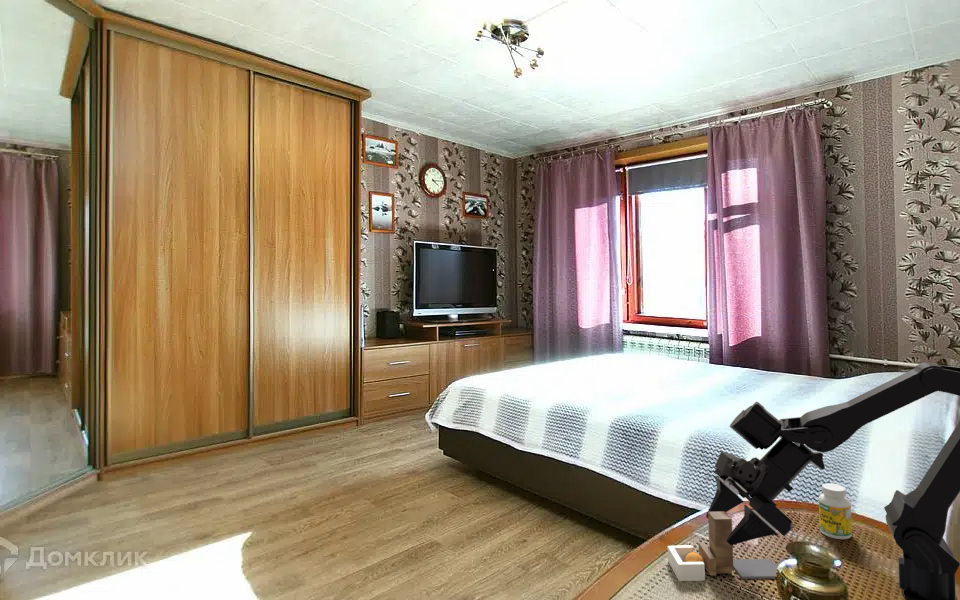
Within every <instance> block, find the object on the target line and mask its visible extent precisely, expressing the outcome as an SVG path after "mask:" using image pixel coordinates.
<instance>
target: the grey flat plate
mask: <svg viewBox="0 0 960 600" xmlns="http://www.w3.org/2000/svg"><path fill="white" fill-rule="evenodd" d="M777 567H778V566H777V565H776V563H774V562H773V561H772V560H771V558H736V559H735V558H733V570H735V572H736V573H737V575H739V577H740V578H741V579H742V580H744V579H745V580H749V579H753V580H755V579H757V580H761V579H776V578H775V577H776V568H777Z"/></svg>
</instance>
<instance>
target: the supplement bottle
mask: <svg viewBox="0 0 960 600" xmlns="http://www.w3.org/2000/svg"><path fill="white" fill-rule="evenodd" d="M821 491H822V493H821V494H819V496H818V513H819V514H818V517H819V518H818V519H819V530H820V532H821V533H822V534H823V535H824V536H827V537H829V538H831V539H837V540H848V539H850V538H851V537H852V533H853V532H852V531H853V529H852V526H853V525H852V507H851V506H852V503H851V501H850V499H849V498H848V497H846V496H847V489H846V487H844V486H843V485H840V484H837V483H831V482H830V483H829V482H828V483H823V484H822V485H821Z"/></svg>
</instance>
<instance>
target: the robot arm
mask: <svg viewBox="0 0 960 600" xmlns="http://www.w3.org/2000/svg"><path fill="white" fill-rule="evenodd" d="M935 392H940V393H941V392H942V393H947V394H951V395H953V396H954V395H955V396H957V397H960V366H951V365H943V364H938V363H936V362H931V361H927V362H921V363H918V364H917V365H916V366H915V367H914V368H913V369H911V370H908V371H906V372H904V373H902V374H900V375H898V376H896V377H893V378H892V379H890V380H888V381H886V382H884V383H882V384H880V385H877V386H876V387H873V388H872V389H869V390H868V391H865V392H864V393H861V394H859V395H858V396H855V397H854V398H852V399H850V400H848V401H845V402H842V403H838V404H832V405H828V406H822V407H820V408H816V409H813V410H810V411H808V412H805V413H803V415H801V416H798V417H787V418H780V419H778V418H777V417H776V416H775V415H773V414H772V413H771V412H769V411H768V410H767V409H766V408H765V407H764V405H763V404H761V403H760V402H758V401H755V402H754V403H753V404H752V405H750V406H748V407H747V408H745V409H743V410H742V411H740V413H738V415H737V416H736V417H735V418H733V420H732V422H731V423H730V424H729V428H730V429H731V430H733V431H734V432H735V433H736V434H737V435H738V436H740V437H741V438H742V439H744V440H745V441H746V442H747V443H748V444H749V445H751V447H753V448H754V449H755V450H757V449H760V450H761V451H762V450H768V449H769V448H770V449H769V450H768V451H767V452H766V453H765V454H764V455H763V456H762V457H761V458H760V459H759V458H758V457H756V456H755V457H752V458H751V459H750V460H746V459H745V458H741V457H739V456H736V455H733V454H731V453H728V452H726V451H723V450H721V451H720V453H719V456H718V457H717V460H716V463H715V464H714V467H715V468H716V469H715V470H714V471H713V472H714V473H715V474H716V475H715V476H714V479H715V483H716V491H715V495H714V497H713V500H712V501H711V503H710V505H709V508H708V510H707V512H706V515H705V517H706V518H707V519H708V512H717V511H725V512H726V513H728V512H729V511H730V510H733V509H734V508H736V507H738V506H739V505H741V504H743V503H744V502H745V501H744V500H743V499H746V500H747V501H749V503H748V505H749V506H750V507H749V506H748V505H747V504H743V505H744V507H743V508H744V509H743V511H744V512H743V513H744V514H743V517H742V519H740V521H739V522H738V523H737V525H736V526H735V527H734V529H732V532H731V534H730V535H729V537H728V538H727V540H726V541H727V542H728V543H729V544H730V545H733V546H735V545H738V544H741V543H745V542H749V541H751V540H756V539H759V538H765V537H769V536H775V537H778V536H779V533H780V535H781V536H783V537H785V538H786V537H787V535H788V534H789V533H790V532H792V530H793V521H792V520H791V519H790V518H789V517H788V516H787V515H786V514H785V513H784V512H783V511H781V510H780V508H778V507H777V504H776V502H774V500H776V498H778V496H779V495H780V494H782V492H783V491H784V490H785V491H787V492H788V493H791V491H793V489H794V487H793V486H792V485H790V484H791V483H792V482H793V481H794V480H795V479H796V478H797V477H798V476H799V475H800V474H801V473H802V471H804V470H805V469H806V468H807V466H809V465H810V463H811V465H812V466H813V467H815V468H817V469H821V470H824V469H825V468H826V466H825V462H824V459H823V457H824V453H828V452H831V451H833V450H835V449H837V448H838V447H839V446H841V445H843V444H844V443H845V442H847V441H848V440H850V439H851V437H852V436H853V435H854V434H856V432H858V430H859V429H861V428H862V427H864V426H865V425H867V424H869V423H871V422H873V421H876V420H879V419H881V418H882V417H885V416H886V415H889V414H890V413H894V412H895V411H897V410H900V409H901V408H904V407H906V406H908V405H910V404H912V403H914V402H917V401H919V400H920V399H923V398H925V397H927V396H929V395H931V394H933V393H935ZM778 439H779V440H778ZM777 440H778V441H777ZM774 443H775V444H774ZM772 445H773V446H772ZM771 446H772V447H771ZM958 495H960V420H959V421H958V423H957V425H956V427H954V429H953V431H952V432H951V434H950V436H949V437H948V439H947V440H946V442H945V443H944V445H943V446H942V448H941V449H940V451H939V452H938V454H937V456H936V457H935V459H934V460H933V462H932V463H931V465H930V466H929V469H928V470H927V471H926V473H925V474H924V476H923V477H922V479H921V481H920V482H919V483H918V485H917V487H916V488H915V489H913V490H912V491H910V492H908V493H907V494H904V493H903V492H901V491H900V490H898V489H897V490H895V492H894V494H893V495H892V498H891V501H890V502H889V504H887V505H885V506H884V507H883V509H884V511H885V513H886V514H885V521H886V524H887V526H888V528H889V531H890V533H891V535H892V537H893V539H894V542H895V544H896V545H897V546H898V547H899V549H901V550H902V557H898V558H897V563H898V565H897V569H898V571H897V572H898V586H899V588H900V589H901V590H902V591H903V592H902V593H903V598H904V599H905V600H957V597H956V596H957V595H956V593H957V592H956V573H957V571H958V569H959V568H960V562H959V560H958V559H957V557H956V555H955V554H954V552H953V551H952V549H951V548H950V546H949V544H948V543H947V542H946V540H945V539H944V535H945V533H946V528H947V520H948V514H949V513H948V512H949V511H950V507H951V506H952V505H953V503H954V501H955V500H956V498H957V497H958ZM740 496H741V497H740ZM742 498H743V499H742ZM751 508H752V509H753V510H752V509H751ZM777 532H779V533H777Z"/></svg>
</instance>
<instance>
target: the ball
mask: <svg viewBox="0 0 960 600" xmlns="http://www.w3.org/2000/svg"><path fill="white" fill-rule="evenodd" d="M685 562H703V563H704V561H703V558H702V557H701V556H700V555H699V552H695V551H693V552H691V553H689V554H687V556H686V558H685Z"/></svg>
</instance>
